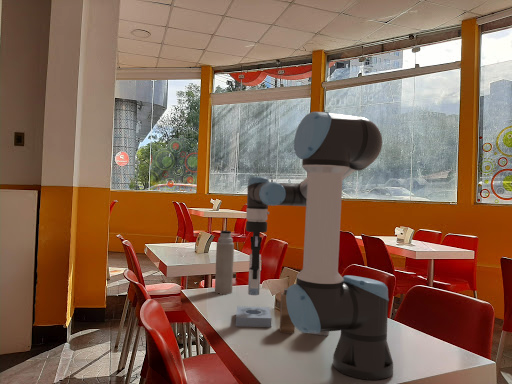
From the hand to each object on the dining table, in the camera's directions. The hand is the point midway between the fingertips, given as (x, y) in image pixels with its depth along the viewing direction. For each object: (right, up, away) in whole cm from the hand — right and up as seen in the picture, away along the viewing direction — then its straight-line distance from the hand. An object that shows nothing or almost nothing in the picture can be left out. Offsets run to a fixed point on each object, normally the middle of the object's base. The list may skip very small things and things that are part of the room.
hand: (254, 286), depth 142 cm
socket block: (0, -12, 0) cm, 12 cm away
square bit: (+11, -12, -10) cm, 19 cm away
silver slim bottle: (0, -3, 0) cm, 3 cm away
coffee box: (+22, -13, -9) cm, 27 cm away
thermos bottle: (-14, -12, +41) cm, 45 cm away
